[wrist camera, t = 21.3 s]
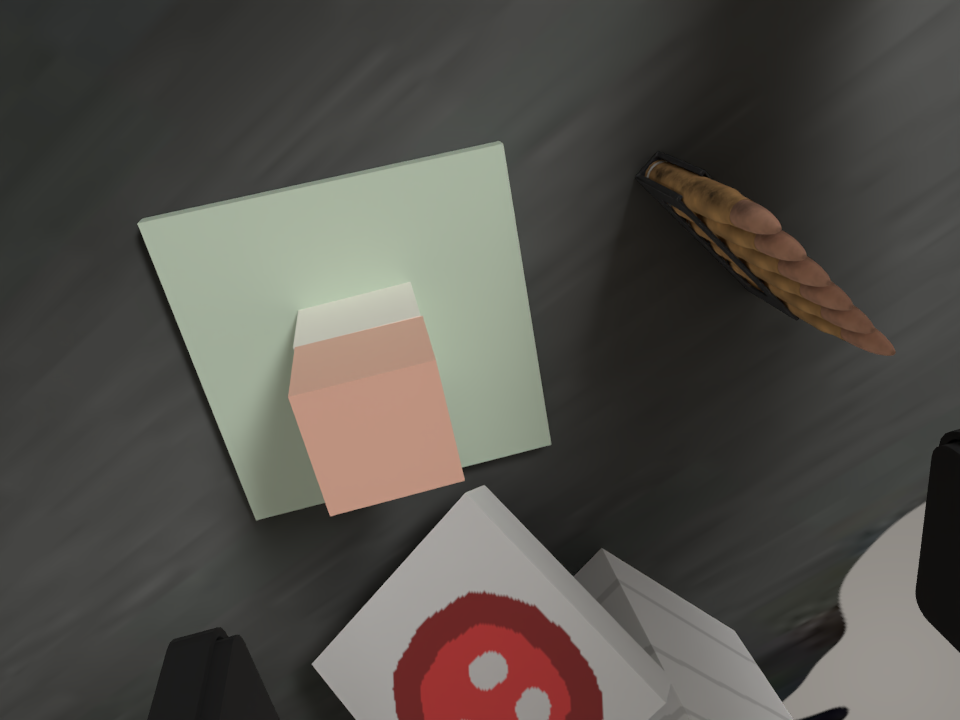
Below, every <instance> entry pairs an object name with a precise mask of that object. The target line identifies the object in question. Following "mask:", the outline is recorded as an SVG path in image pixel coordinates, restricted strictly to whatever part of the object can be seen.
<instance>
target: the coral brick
mask: <svg viewBox="0 0 960 720" xmlns="http://www.w3.org/2000/svg"><path fill="white" fill-rule="evenodd" d="M288 398H289V401H290V404H291V407H292V410H293V413H294V415H295V418H296V421H297V424H298V427H299V430H300V432H301V435H302V438H303V441H304V444H305V447H306V449H307V452H308V455H309V458H310V461H311V464H312V466H313V469H314V472H315V475H316V478H317V481H318V483H319V486H320V489H321V492H322V495H323V498H324V501H325V503H326V506H327V509H328V512H329V515H330V516H334V515H337V514H341V513H345V512H349V511H352V510H356V509H360V508H364V507H367V506H371V505H375V504H379V503H383V502H386V501H390V500H394V499H398V498H401V497H405V496H409V495H413V494H416V493H420V492H424V491H428V490H431V489H435V488H439V487H443V486H447V485H450V484H454V483H458V482H462V481H465V479H464V475H463V470H462V466H461V462H460V458H459V454H458V450H457V445H456V441H455V437H454V433H453V429H452V425H451V421H450V416H449V412H448V408H447V404H446V400H445V396H444V391H443V387H442V383H441V379H440V375H439V371H438V367H437V362H436V359H435V355H434V352H433V349H432V345H431V342H430V339H429V335H428V332H427V329H426V325H425V322H424V319H423V316H420V317H416V318H412V319H408V320H404V321H400V322H396V323H392V324H388V325H383V326H379V327H375V328H371V329H367V330H363V331H359V332H355V333H351V334H347V335H343V336H339V337H335V338H330V339H326V340H322V341H318V342H314V343H310V344H306V345H302V346H298V347H295V349H294V357H293V364H292V371H291V379H290V386H289V394H288Z"/></svg>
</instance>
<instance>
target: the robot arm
mask: <svg viewBox="0 0 960 720" xmlns="http://www.w3.org/2000/svg"><path fill="white" fill-rule="evenodd" d="M916 599H917V603H918V606H919V608H920V610H921V612H922V613H923V615H924V617H925V618H926V619H927V620H928V621H929V622H930V623H931V624H932V625H933V626H934V627H935V628H936V629H937V630H938V631H939V632H940V633H941V634H942V635H943V636H944V637H945V638H946V639H947V640H948V641H949V642H950V643H951V644H952V645H953V646H954V647H955V648H956V649H957V650H958V651H959V652H960V429H958V430H955V431H951V432H948V433H946V434H945V435H944V436H943V437H942V438H941V441H940V444H939V447H936V448H935V450H934V451H933V454H932V459H931V467H930V476H929V484H928V492H927V500H926V509H925V517H924V525H923V534H922V542H921V551H920V559H919V568H918V575H917V583H916ZM148 720H280V719H279V717H278V715H277V713H276V711H275V708H274V706H273V704H272V702H271V700H270V697H269V695H268V693H267V691H266V689H265V686H264V684H263V682H262V680H261V678H260V675H259V673H258V671H257V669H256V667H255V664H254V662H253V660H252V658H251V655H250V653H249V651H248V649H247V647H246V644H245V642H244V640H243V639H242V637H241V636H240V635H235V636H231V637H228V636H227V634H226V632H225V631H224V630H223V629H222V628H221V627H220V628H214V629H210V630H206V631H203V632H199V633H195V634H192V635H188V636H184V637H180V638H177V639H173V640H172V641H171V642H170V644H169V646H168V649H167V651H166V655H165V659H164V662H163V666H162V669H161V673H160V677H159V680H158V684H157V687H156V691H155V695H154V698H153V702H152V705H151V709H150V713H149V716H148Z"/></svg>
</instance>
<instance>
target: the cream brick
mask: <svg viewBox="0 0 960 720" xmlns="http://www.w3.org/2000/svg"><path fill="white" fill-rule="evenodd" d="M420 316H421V315H420V312H419V309H418V305H417V302H416V298H415V295H414V292H413V288H412V285H411V282H407V283H403V284H399V285H395V286H391V287H387V288H384V289H380V290H376V291H372V292H368V293H364V294H360V295H356V296H352V297H348V298H344V299H340V300H337V301H333V302H329V303H325V304H321V305H317V306H313V307H309V308H305V309H301V310H298V316H297V323H296V330H295V337H294V344H293V350H294V349H295V347H298V346H302V345H306V344H310V343H314V342H318V341H322V340H326V339H330V338H335V337H339V336H343V335H347V334H351V333H355V332H359V331H363V330H367V329H371V328H375V327H379V326H383V325H388V324H392V323H396V322H400V321H404V320H408V319H412V318H416V317H420Z"/></svg>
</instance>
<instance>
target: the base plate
mask: <svg viewBox="0 0 960 720" xmlns="http://www.w3.org/2000/svg"><path fill="white" fill-rule="evenodd" d="M137 224H138V226H139V229H140V231H141V234H142V236H143V239H144V241H145V244H146V246H147V249H148V251H149V254H150V256H151V259H152V261H153V264H154V266H155V269H156V271H157V274H158V276H159V279H160V281H161V284H162V286H163V289H164V291H165V294H166V296H167V299H168V301H169V304H170V306H171V309H172V311H173V314H174V316H175V319H176V321H177V324H178V326H179V329H180V331H181V334H182V336H183V339H184V341H185V344H186V346H187V349H188V351H189V354H190V357H191V359H192V362H193V364H194V367H195V369H196V372H197V374H198V377H199V379H200V382H201V384H202V387H203V389H204V392H205V394H206V397H207V399H208V402H209V404H210V407H211V409H212V412H213V414H214V417H215V419H216V422H217V424H218V427H219V429H220V432H221V434H222V437H223V439H224V442H225V444H226V447H227V449H228V452H229V454H230V457H231V459H232V462H233V464H234V467H235V469H236V472H237V474H238V477H239V479H240V482H241V484H242V487H243V489H244V492H245V494H246V497H247V499H248V502H249V504H250V507H251V509H252V512H253V514H254V517H255V519H256V520H260V519H264V518H267V517H271V516H275V515H279V514H283V513H287V512H291V511H295V510H299V509H303V508H306V507H310V506H314V505H318V504H322V503H325V501H324V498H323V495H322V492H321V489H320V486H319V483H318V481H317V478H316V475H315V472H314V469H313V466H312V464H311V461H310V458H309V455H308V452H307V449H306V447H305V444H304V441H303V438H302V435H301V432H300V430H299V427H298V424H297V421H296V418H295V415H294V413H293V410H292V407H291V404H290V401H289V398H288V394H289V386H290V379H291V371H292V364H293V357H294V350H293V344H294V337H295V330H296V323H297V316H298V310H301V309H305V308H309V307H313V306H317V305H321V304H325V303H329V302H333V301H337V300H340V299H344V298H348V297H352V296H356V295H360V294H364V293H368V292H372V291H376V290H380V289H384V288H387V287H391V286H395V285H399V284H403V283H407V282H411V285H412V288H413V292H414V295H415V298H416V302H417V305H418V309H419V312H420V315H421V316H423V319H424V322H425V325H426V329H427V332H428V335H429V339H430V342H431V345H432V349H433V352H434V355H435V359H436V362H437V367H438V371H439V375H440V379H441V383H442V387H443V391H444V396H445V400H446V404H447V408H448V412H449V416H450V421H451V425H452V429H453V433H454V437H455V441H456V445H457V450H458V454H459V458H460V462H461V466H462V467H466V466H470V465H474V464H478V463H482V462H486V461H490V460H494V459H498V458H501V457H505V456H509V455H513V454H517V453H521V452H525V451H529V450H533V449H536V448H540V447H544V446H548V445H551V439H550V433H549V427H548V421H547V414H546V408H545V402H544V396H543V390H542V383H541V377H540V371H539V365H538V358H537V352H536V346H535V340H534V333H533V327H532V321H531V315H530V309H529V302H528V296H527V290H526V284H525V277H524V271H523V265H522V259H521V252H520V246H519V240H518V234H517V228H516V221H515V215H514V209H513V203H512V196H511V190H510V184H509V178H508V171H507V165H506V159H505V153H504V147H503V143H501V142H500V141H497V142H492V143H487V144H483V145H478V146H474V147H469V148H464V149H460V150H455V151H451V152H446V153H441V154H437V155H432V156H428V157H423V158H419V159H414V160H409V161H405V162H400V163H396V164H391V165H386V166H382V167H377V168H373V169H368V170H363V171H359V172H354V173H350V174H345V175H340V176H336V177H331V178H327V179H322V180H317V181H313V182H308V183H304V184H299V185H294V186H290V187H285V188H281V189H276V190H272V191H267V192H262V193H258V194H253V195H249V196H244V197H239V198H235V199H230V200H226V201H221V202H216V203H212V204H207V205H203V206H198V207H193V208H189V209H184V210H180V211H175V212H170V213H166V214H161V215H157V216H152V217H147V218H143V219H141V220H140V221H139V222H138V223H137Z"/></svg>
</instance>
